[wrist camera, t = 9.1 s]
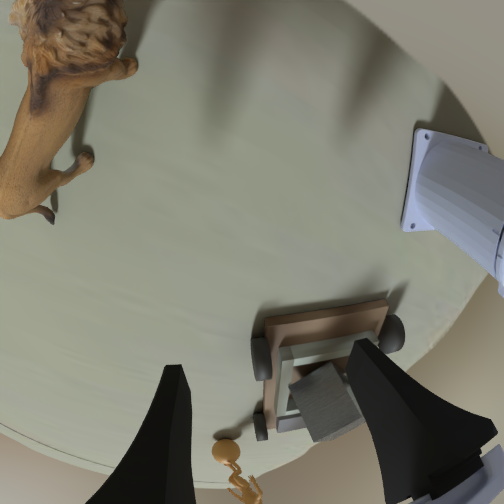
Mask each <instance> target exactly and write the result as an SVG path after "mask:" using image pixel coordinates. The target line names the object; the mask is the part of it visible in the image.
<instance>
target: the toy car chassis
mask: <svg viewBox="0 0 504 504" xmlns="http://www.w3.org/2000/svg"><path fill="white" fill-rule="evenodd" d="M388 308H389V305H388V303H387V302H386V301H385V299H381V300H376V301H371V302H365V303H360V304H354V305H349V306H343V307H337V308H331V309H325V310H318V311H311V312H305V313H298V314H290V315H283V316H275V317H267V318H265V337H263V338H255V339H251V355H252V363H253V369H254V375H255V379H256V381H263V380H264V389H263V413H258V414H253V420H254V427H255V433H256V438H257V441H263V440H268V432H267V429H273V428H276V429H277V433H281V432H286V431H292V430H297V429H302V428H306V425H305V422H304V420H303V418H302V416H301V414H300V412H299V410H298V407H297V405H296V403H295V401H294V399H293V396H292V394H291V392H290V390H289V388H288V386H289V385H291V384H293V383H295V382H296V381H298V380H300V379H302V378H303V377H305V376H307V375H308V374H310V373H312V372H313V371H315V370H317V369H318V368H320V367H321V366H323V365H325V364H326V363H328V362H329V361H331V362H333V363H334V364H335V365H336V366H338V367H339V368H340V369H342V370H343V371H344V372H345V373H346V371H345V367H346V364H347V362H348V359H349V356H350V353H351V350H352V347H353V344H354V341H355V340H359V339H363V338H368V339H369V340H370V341H371V342H372V343H373V344H374V345H376V346H378V347H379V349H380V350H381V351H382V352H383V353H384V354H389V353H392V352H396V351H399V350H400V349H401V348H402V347H403V345H404V342H405V330H404V326H403V323H402V321H401V320H400V318H399V317H398V316H396V315H394V314H392V315H387V316H386V314H387V311H388Z"/></svg>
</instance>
